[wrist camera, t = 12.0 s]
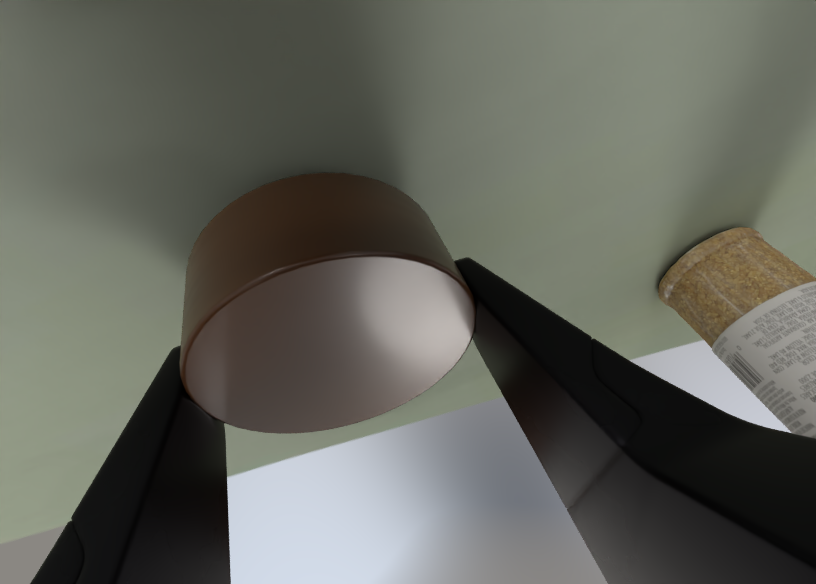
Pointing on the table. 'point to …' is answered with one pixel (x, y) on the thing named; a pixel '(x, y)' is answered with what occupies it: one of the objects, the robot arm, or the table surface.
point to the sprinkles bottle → (753, 318)
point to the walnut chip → (319, 306)
